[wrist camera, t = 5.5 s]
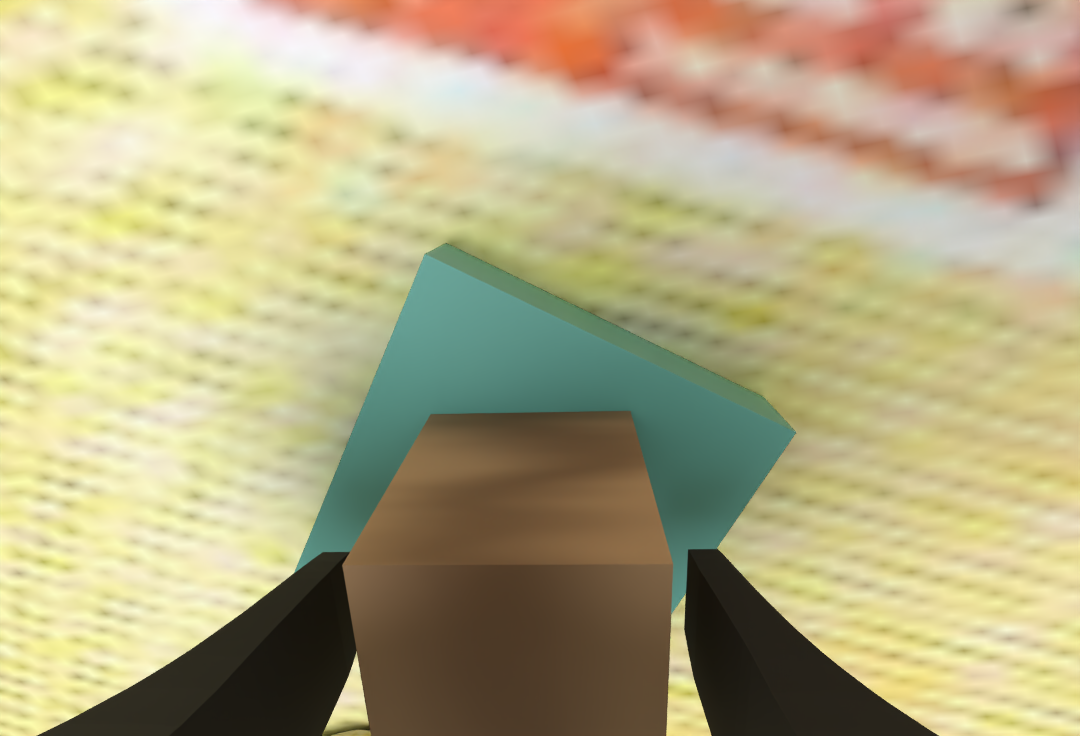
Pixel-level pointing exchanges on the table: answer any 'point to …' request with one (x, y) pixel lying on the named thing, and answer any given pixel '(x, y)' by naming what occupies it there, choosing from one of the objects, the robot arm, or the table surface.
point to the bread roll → (354, 733)
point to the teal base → (551, 401)
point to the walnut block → (515, 582)
